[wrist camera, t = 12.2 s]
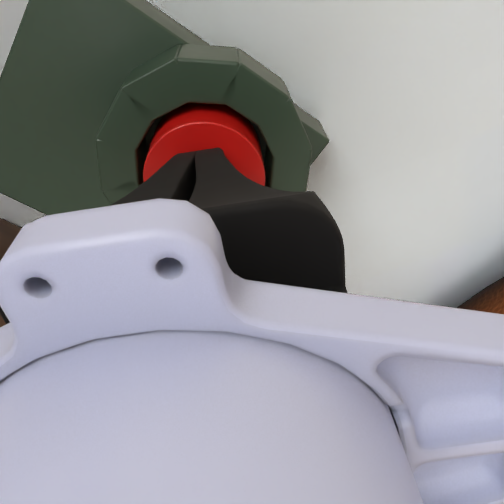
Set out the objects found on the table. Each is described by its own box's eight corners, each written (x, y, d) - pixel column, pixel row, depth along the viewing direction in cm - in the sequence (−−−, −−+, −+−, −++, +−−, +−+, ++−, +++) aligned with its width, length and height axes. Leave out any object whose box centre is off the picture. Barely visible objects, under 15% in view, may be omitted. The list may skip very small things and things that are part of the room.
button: (131, 169, 16) (121, 198, 14) (185, 76, 14) (181, 96, 12) (223, 219, 17) (223, 251, 15) (281, 139, 15) (289, 164, 14)
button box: (-14, 153, 18) (-67, 203, 14) (77, -80, 14) (33, -83, 11) (210, 265, 21) (209, 325, 18) (333, 105, 17) (359, 145, 14)
